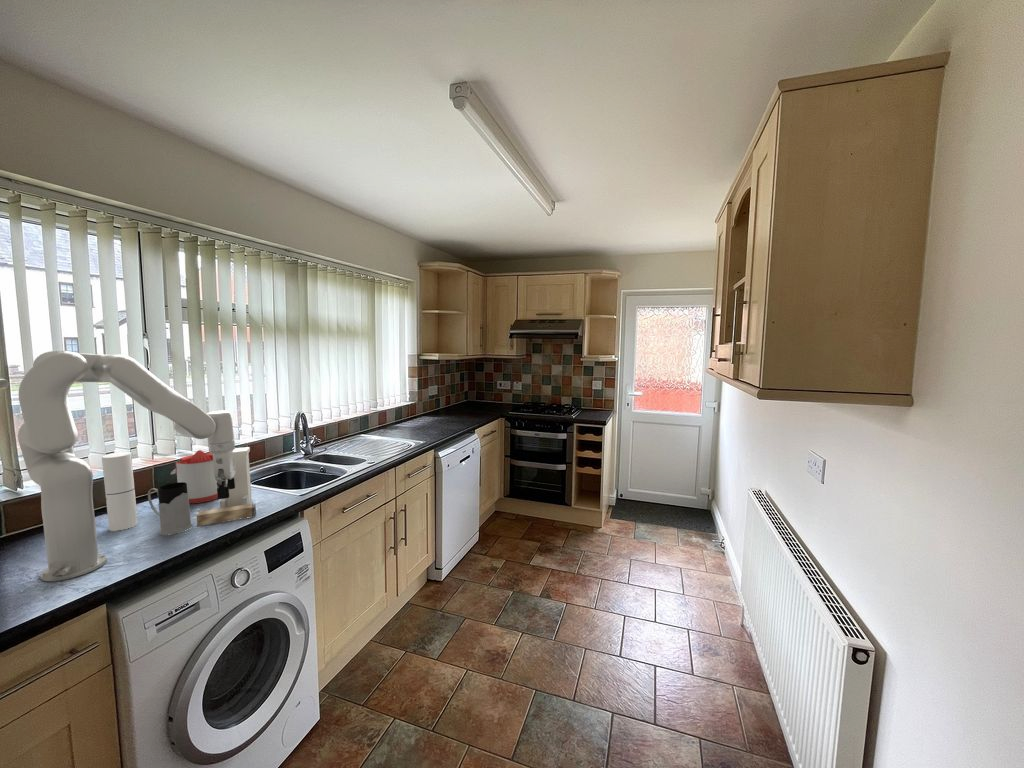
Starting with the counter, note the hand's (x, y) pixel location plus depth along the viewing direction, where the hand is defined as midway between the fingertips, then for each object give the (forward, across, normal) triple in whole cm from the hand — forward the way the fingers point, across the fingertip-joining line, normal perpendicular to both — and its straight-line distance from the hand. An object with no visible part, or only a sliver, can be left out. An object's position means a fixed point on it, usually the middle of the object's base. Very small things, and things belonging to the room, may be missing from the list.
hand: (226, 493), depth 147 cm
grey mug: (+9, -2, +17) cm, 19 cm away
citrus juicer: (+10, +28, +15) cm, 33 cm away
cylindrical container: (+9, +8, +32) cm, 34 cm away
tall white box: (+9, +12, 0) cm, 15 cm away
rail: (+9, -1, +1) cm, 9 cm away
